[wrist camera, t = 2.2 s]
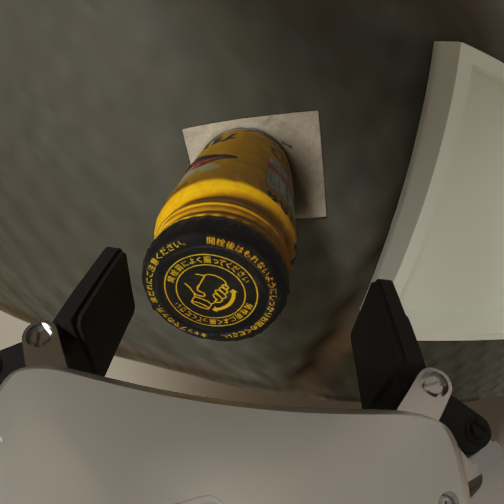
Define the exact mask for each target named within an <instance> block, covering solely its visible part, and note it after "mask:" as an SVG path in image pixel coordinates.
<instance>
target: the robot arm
mask: <svg viewBox="0 0 504 504" xmlns="http://www.w3.org/2000/svg"><path fill="white" fill-rule="evenodd" d="M134 310H135V304H134V298H133V293H132V287H131V282H130V276H129V270H128V264H127V257H126V254H125V253H123V252H122V250H121V249H120V248H112V247H106V248H105V249H104V251H103V252H102V253H101V255H100V256H99V257H98V259H97V260H96V261H95V263H94V264H93V265H92V267H91V268H90V269H89V271H88V272H87V274H86V275H85V276H84V278H83V279H82V280H81V281H80V283H79V284H78V285H77V287H76V288H75V290H74V291H73V293H72V294H71V295H70V297H69V298H68V300H67V301H66V303H65V304H64V306H63V307H62V309H61V310H60V312H59V313H58V315H57V316H56V318H55V319H54V321H53V322H50V321H48V320H40V321H36V322H34V323H32V324H30V325H29V326H28V327H27V328H26V329H25V331H24V333H23V335H22V342H21V343H18V344H16V345H13V346H11V347H8V348H6V349H3V350H1V351H0V504H504V451H503V450H502V448H501V447H500V446H499V444H498V443H497V442H496V441H494V442H492V441H491V440H490V438H491V429H490V426H489V424H488V423H487V421H486V420H485V419H484V418H482V417H481V416H480V415H478V414H477V413H476V412H474V411H473V410H472V409H470V408H468V407H467V406H466V405H464V404H463V403H462V402H460V401H459V400H458V399H456V398H455V397H453V396H452V395H451V392H452V384H451V381H450V379H449V378H448V376H447V375H446V374H445V373H444V372H442V371H441V370H439V369H437V368H431V367H430V368H426V366H425V363H424V360H423V357H422V354H421V351H420V348H419V345H418V342H417V339H416V336H415V334H414V331H413V328H412V325H411V323H410V320H409V318H408V316H406V314H405V312H404V309H403V306H402V304H401V301H400V299H399V296H398V294H397V291H396V289H395V286H394V284H393V282H392V280H386V279H377V280H376V281H375V282H372V283H371V285H370V287H369V290H368V292H367V295H366V297H365V300H364V303H363V305H362V308H361V310H360V313H359V315H358V317H357V320H356V322H355V325H354V327H353V329H352V333H351V342H352V348H353V353H354V359H355V365H356V371H357V377H358V383H359V390H360V396H361V403H362V409H331V408H328V409H327V408H305V407H289V406H277V405H265V404H255V403H246V402H245V403H244V402H237V401H229V400H222V399H221V400H220V399H214V398H208V397H201V396H195V395H189V394H183V393H177V392H172V391H166V390H161V389H156V388H151V387H147V386H142V385H137V384H133V383H129V382H124V381H120V380H116V379H111V378H107V377H104V376H105V375H106V372H107V370H108V368H109V365H110V363H111V361H112V359H113V356H114V354H115V352H116V350H117V348H118V345H119V343H120V341H121V339H122V337H123V335H124V332H125V330H126V328H127V326H128V324H129V322H130V320H131V318H132V316H133V313H134Z"/></svg>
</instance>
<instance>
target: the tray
mask: <svg viewBox="0 0 504 504" xmlns="http://www.w3.org/2000/svg"><path fill="white" fill-rule="evenodd" d="M377 279H386V280H392V282H393V284H394V286H395V289H396V291H397V294H398V296H399V299H400V301H401V304H402V306H403V309H404V312H405V314H406V316H408V318H409V320H410V323H411V325H412V328H413V331H414V334H415V336H416V339H417V341H465V340H496V339H504V63H502V62H501V61H499V60H497V59H495V58H493V57H491V56H489V55H487V54H485V53H484V52H482V51H479V50H477V49H475V48H473V47H471V46H469V45H467V44H465V43H463V42H451V41H434V45H433V52H432V59H431V65H430V71H429V77H428V83H427V88H426V93H425V99H424V104H423V108H422V113H421V118H420V122H419V127H418V131H417V135H416V139H415V143H414V147H413V151H412V155H411V159H410V163H409V167H408V170H407V174H406V178H405V181H404V185H403V188H402V191H401V195H400V198H399V201H398V205H397V208H396V211H395V214H394V217H393V220H392V224H391V227H390V230H389V233H388V236H387V238H386V241H385V244H384V247H383V250H382V253H381V256H380V258H379V261H378V264H377V266H376V269H375V272H374V274H373V277H372V280H371V282H370V285H371V283H372V282H375V281H376V280H377ZM370 285H369V287H370ZM369 287H368V290H369ZM368 290H367V292H368ZM367 292H366V295H367ZM366 295H365V297H366ZM365 297H364V300H365ZM364 300H363V302H362V305H363V303H364ZM362 305H361V307H360V310H361V308H362Z"/></svg>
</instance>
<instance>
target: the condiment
mask: <svg viewBox="0 0 504 504" xmlns="http://www.w3.org/2000/svg"><path fill="white" fill-rule="evenodd" d="M182 131H183V134H184V139H185V143H186V147H187V151H188V155H189V159H190V163H191V166H190V167H189V168H188V170H187V171H186V173H185V175H184V176H183V178H182V179H181V181H180V182H179V183H178V185H177V186H176V188H175V189H174V191H173V192H172V193H171V194H170V195H169V197H168V198H167V200H166V202H165V204H164V206H163V207H162V209H161V211H160V214H159V215H158V217H157V220H156V225H155V231H154V235H155V237H154V240H153V242H152V244H151V246H150V248H149V249H148V250H147V253H146V256H145V259H144V261H143V269H142V281H143V286H144V289H145V291H146V293H147V297H148V299H149V301H150V303H151V305H152V308H153V309H154V310H156V311H157V312H158V313H159V314H160V315H161V316H162V317H163V318H164V319H165V320H166V321H167V322H168V323H170V324H171V325H173V326H175V327H176V328H178V329H180V330H182V331H184V332H186V333H188V334H191V335H193V336H196V337H199V338H203V339H211V340H217V341H239V340H242V339H246V338H251V337H253V336H255V335H257V334H259V333H261V332H263V331H264V330H265V329H266V328H267V327H268V326H269V325H270V324H271V323H272V322H273V321H274V320H275V319H276V318H277V317H278V315H279V314H281V311H282V310H283V308H284V306H285V305H286V302H287V297H288V294H289V292H290V290H289V279H288V278H289V273H290V269H291V268H292V266H293V263H294V260H295V258H296V251H297V241H298V235H297V229H296V220H295V219H299V218H316V217H326V203H325V187H324V175H323V161H322V148H321V137H320V126H319V116H318V111H308V112H295V113H287V114H278V115H269V116H260V117H252V118H244V119H237V120H231V121H224V122H218V123H212V124H207V125H202V126H196V127H191V128H186V129H182ZM281 141H284V142H285V143H286V145H283V144H282V143H281ZM287 144H289V145H291V146H292V149H290V148H288V147H287Z"/></svg>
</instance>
